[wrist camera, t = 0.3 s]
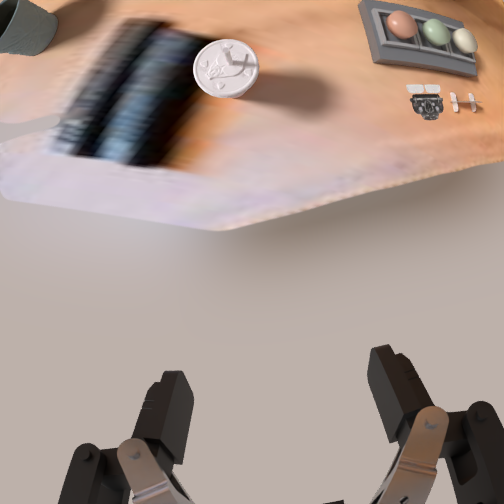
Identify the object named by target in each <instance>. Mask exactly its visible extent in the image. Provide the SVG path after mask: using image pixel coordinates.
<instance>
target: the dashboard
mask: <svg viewBox="0 0 504 504" xmlns="http://www.w3.org/2000/svg"><path fill="white" fill-rule="evenodd" d="M406 86H407V90H408V91H409V92H410V93H416V92H417V93H423V92H424V88H423V85H406ZM424 86H425V90H426V91H427V92H428V93H439V92H440V86H439V85H424ZM433 91H434V92H433ZM450 95H451V99H452V103H453V108H454V112H457V111H458V103H457V102H463V103H470V104H471V109H472V112H475V111H476V104H475V103H482V102H478V101H475V99H474V96H473V94H472V93H469V99H470V101H457V99H456V95H455V93H453V92H451V93H450ZM437 96H438V97H437ZM412 97H413V98H411V99H410V101H411V102H412V105H413V109H414V111H415V112H416V113H417V114H421V115H422V117H423V118H424V119H425V120H436V119H438V115H439V113H442V112H443V104H442V101H443V98H440V97H439V95H438V94H415V96H414V95H413V96H412Z"/></svg>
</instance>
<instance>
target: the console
mask: <svg viewBox="0 0 504 504" xmlns="http://www.w3.org/2000/svg"><path fill="white" fill-rule="evenodd" d="M358 8H359V11H360V14H361V18H362V21H363V24H364V28H365V31H366V35H367V39H368V43H369V47H370V51H371V55H372V59H373V63H382V64H394V65H403V66H411V67H419V68H425V69H431V70H437V71H442V72H447V73H452V74H457V75H461V76H465V77H473V76H477V72H476V67H475V63H476V60H475V56H474V52H472V53H468V54H466V53H463V52H461V51H460V50H459V49H458V48H457V46H456V45H455V43H454V41H453V38H452V33H453V32H454V31H455V30H458V29H460V28H464V25H463V22H460V21H457V20H454V19H451V18H448V17H445V16H442V15H439V14H435V13H432V12H428V11H425V10H421V9H417V8H413V7H408V6H404V5H399V4H394V3H388V2H382V1H376V0H362V1H361V2H360V3H359V4H358ZM397 10H400V11H404V12H406V13H408V14H409V15H410V16H411V17H412V18H413V19H414V20H415V22H416V23H417V26H418V32H417V34H415V35H414V36H412V37H410V38H408V39H400V38H398V37H396V36H394V35H393V34H392V33H391V32H390V31H389V29H388V28H387V25H386V18H387V17H388V16H389V15H390V14H392V13H393V12H394V11H397ZM430 19H437V20H439V21H441V22H442V23H443V24H444V25H445V26H446V27H447V29H448V30H449V33H450V36H451V39H450V42H449V43H446V44H444V45H441V46H436V45H433V44H432V43H430V42H429V41H428V40H427V39H426V37H425V36H424V34H423V31H422V25H423V23H425V22H427V21H428V20H430Z"/></svg>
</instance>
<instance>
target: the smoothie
mask: <svg viewBox="0 0 504 504" xmlns="http://www.w3.org/2000/svg"><path fill="white" fill-rule="evenodd" d="M193 72H194V77H195V79H196V81H197V83H198V85H199V86H200V87H201V88H202V89H203V91H205V92H206V93H208V94H210V95H212V96H215V97H219V98H238V97H240V96H242V95H243V94H244V93H245V92H246V91H247V90H248V89H250V88H251V87H252V85H253V84H254V83H255V81H256V79H257V77H258V74H259V63H258V58H257V56H256V54H255V52H254V51H253V50H252V48H250V47H249V46H248V45H247V44H245V43H243V42H241V41H238V40H233V39H223V40H218V41H215V42H213V43H210V44H209V45H207V46H206V47H204V48H203V49H202V50H201V51H200V52H199V54H198V55H197V57H196V59H195V62H194V66H193Z"/></svg>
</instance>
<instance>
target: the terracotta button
mask: <svg viewBox="0 0 504 504" xmlns="http://www.w3.org/2000/svg"><path fill="white" fill-rule="evenodd" d="M386 25H387V28H388V29H389V31H390V32H391V33H392V34H393V35H394V36H396V37H398V38H400V39H408V38H410V37H412V36H414V35H415V34H417V32H418V26H417V23H416V22H415V20H414V19H413V18H412V17H411V16H410V15H409V14H408V13H406V12H404V11H400V10H397V11H394V12H393V13H392V14H390V15H389V16H388V17H387V18H386Z"/></svg>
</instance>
